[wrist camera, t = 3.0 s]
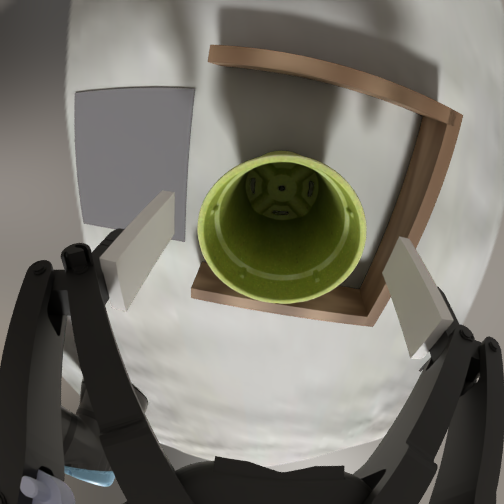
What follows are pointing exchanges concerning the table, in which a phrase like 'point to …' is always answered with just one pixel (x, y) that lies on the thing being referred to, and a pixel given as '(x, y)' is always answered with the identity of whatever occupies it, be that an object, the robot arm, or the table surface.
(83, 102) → the charcoal mat
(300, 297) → the plant pot
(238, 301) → the walnut bay
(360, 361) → the table surface
